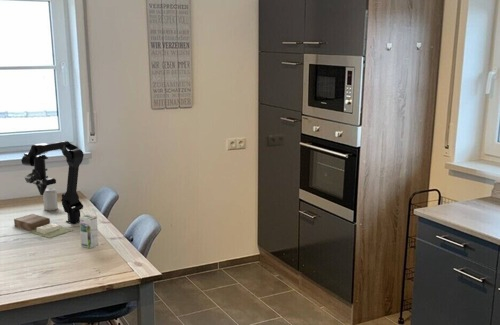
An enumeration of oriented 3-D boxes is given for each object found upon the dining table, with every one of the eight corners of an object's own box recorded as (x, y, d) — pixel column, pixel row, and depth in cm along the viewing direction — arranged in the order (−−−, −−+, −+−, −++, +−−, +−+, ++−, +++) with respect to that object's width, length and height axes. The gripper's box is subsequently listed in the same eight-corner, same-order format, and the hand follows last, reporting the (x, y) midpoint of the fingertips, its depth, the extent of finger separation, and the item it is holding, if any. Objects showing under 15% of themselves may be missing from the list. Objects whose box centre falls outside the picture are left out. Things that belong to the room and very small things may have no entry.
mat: (72, 230, 272) (72, 229, 271) (49, 238, 260) (49, 237, 260) (52, 224, 280) (52, 224, 280) (28, 232, 268) (28, 231, 268)
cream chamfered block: (51, 223, 275) (51, 226, 276) (36, 227, 268) (36, 231, 268) (59, 225, 272) (59, 228, 273) (44, 229, 265) (44, 233, 265)
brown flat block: (50, 225, 279) (49, 218, 278) (31, 231, 270) (30, 223, 269) (33, 221, 286) (32, 213, 285) (14, 226, 277) (14, 219, 276)
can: (60, 207, 311) (58, 187, 309) (54, 211, 304) (52, 190, 302) (47, 207, 312) (46, 187, 310) (41, 210, 305) (40, 190, 302)
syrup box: (80, 246, 249) (78, 216, 246) (89, 242, 254) (88, 213, 252) (89, 248, 247) (88, 218, 244) (98, 244, 252) (97, 215, 249)
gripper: (15, 167, 287) (18, 195, 291) (37, 171, 278) (39, 200, 281) (34, 164, 297) (36, 191, 300) (55, 168, 287) (57, 196, 290)
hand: (41, 195), depth 292 cm, fingers closed
